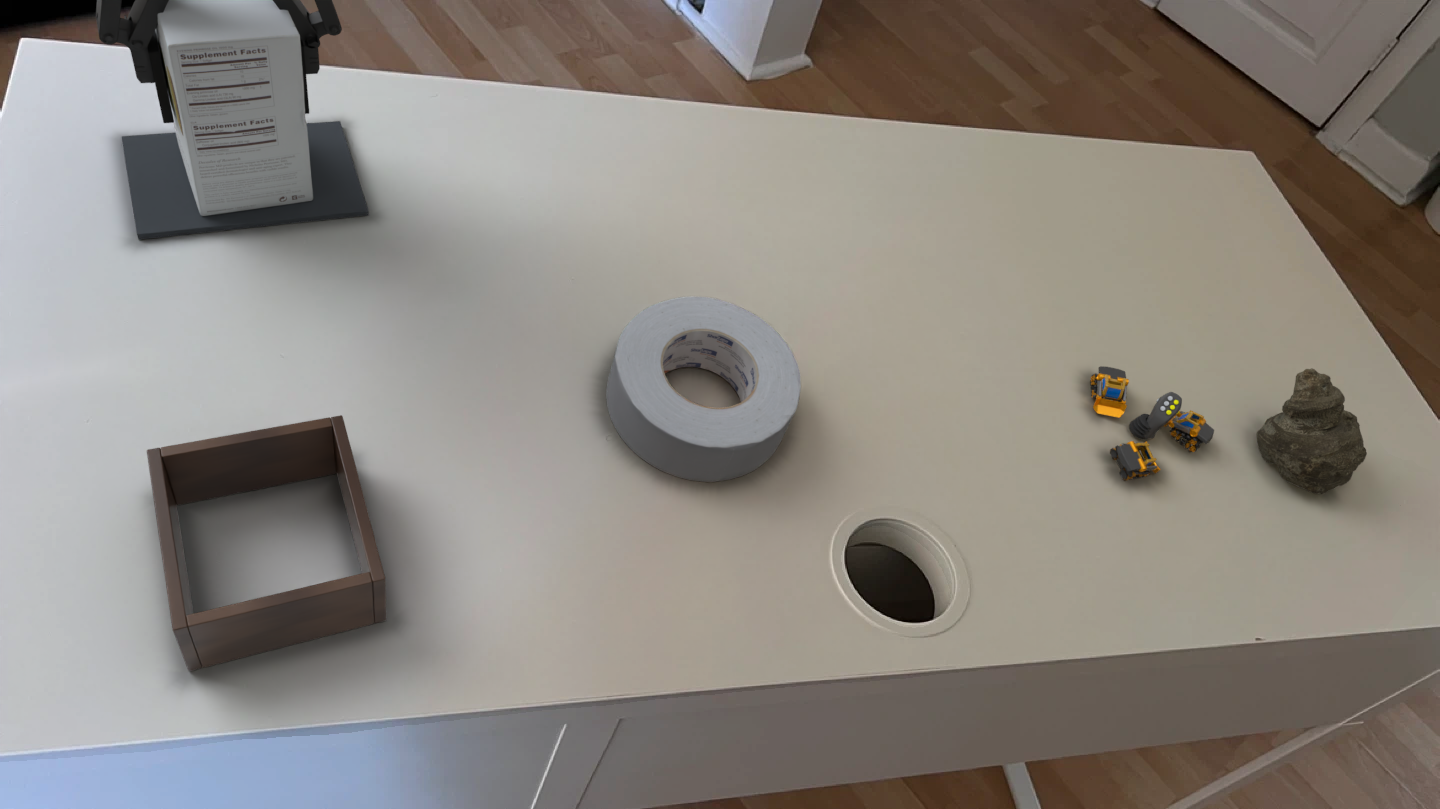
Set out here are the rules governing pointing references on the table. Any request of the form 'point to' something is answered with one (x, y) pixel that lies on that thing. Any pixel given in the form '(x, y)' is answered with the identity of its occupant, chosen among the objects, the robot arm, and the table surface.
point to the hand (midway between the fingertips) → (235, 107)
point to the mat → (173, 211)
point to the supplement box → (237, 102)
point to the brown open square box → (246, 468)
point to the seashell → (1313, 436)
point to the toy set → (1145, 423)
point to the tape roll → (684, 429)
